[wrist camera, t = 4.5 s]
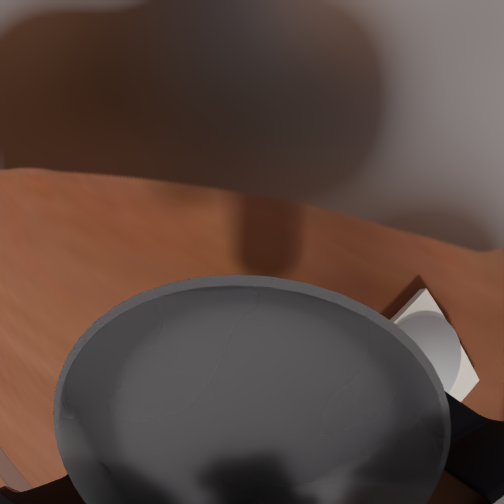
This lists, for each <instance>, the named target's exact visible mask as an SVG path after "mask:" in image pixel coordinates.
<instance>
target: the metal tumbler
mask: <svg viewBox="0 0 504 504" xmlns="http://www.w3.org/2000/svg"><path fill="white" fill-rule="evenodd" d="M53 415H54V429H55V435H56V440H57V445H58V449H59V452H60V455H61V458H62V461H63V464H64V466H65V469H66V471H67V473H68V475H69V477H70V479H71V481H72V483H73V485H74V486H75V488H76V489H77V491H78V493H79V494H80V496H81V497H82V499H83V500H84V501H85V503H86V504H426V503H427V502H428V500H429V498H430V497H431V495H432V493H433V492H434V490H435V488H436V486H437V484H438V482H439V480H440V477H441V475H442V473H443V470H444V468H445V464H446V460H447V456H448V452H449V447H450V436H451V421H450V411H449V404H448V401H447V397H446V394H445V390H444V387H443V384H442V382H441V380H440V378H439V376H438V374H437V372H436V370H435V368H434V366H433V365H432V363H431V362H430V360H429V359H428V358H427V356H426V355H425V354H424V352H423V351H422V350H421V349H420V347H419V346H418V345H417V343H416V342H415V341H413V340H412V339H411V338H410V337H409V336H408V335H407V334H406V333H405V332H404V331H403V330H402V329H400V328H399V327H398V326H397V325H396V324H395V323H393V322H392V321H390V320H389V319H387V318H386V317H384V316H383V315H381V314H380V313H378V312H376V311H375V310H373V309H372V308H370V307H368V306H366V305H364V304H362V303H360V302H358V301H355V300H353V299H351V298H349V297H347V296H345V295H343V294H341V293H337V292H334V291H331V290H328V289H325V288H321V287H318V286H315V285H312V284H309V283H305V282H299V281H293V280H288V279H282V278H277V277H271V276H252V275H222V276H207V277H198V278H193V279H188V280H183V281H178V282H173V283H168V284H165V285H162V286H159V287H157V288H154V289H151V290H148V291H145V292H142V293H139V294H138V295H136V296H134V297H132V298H130V299H128V300H126V301H124V302H122V303H121V304H119V305H117V306H115V307H114V308H112V309H111V310H110V311H108V312H107V313H106V314H104V315H103V316H102V317H100V318H99V319H98V320H96V321H95V322H94V323H93V324H92V325H91V326H90V327H89V328H88V330H87V331H86V332H85V333H84V334H83V335H82V336H81V337H80V338H79V340H78V341H77V343H76V344H75V346H74V347H73V349H72V350H71V352H70V353H69V355H68V356H67V359H66V361H65V363H64V365H63V368H62V370H61V373H60V375H59V379H58V383H57V387H56V391H55V398H54V411H53Z"/></svg>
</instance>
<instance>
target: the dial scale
mask: <svg viewBox="0 0 504 504" xmlns="http://www.w3.org/2000/svg"><path fill="white" fill-rule="evenodd" d="M390 321H392V322H393V323H395V324H396V325H397V326H398V327H399V328H400V329H402V330H403V331H404V332H405V333H406V334H407V335H408V336H409V337H410V338H411V339H412V340H413V341H415V342H416V343H417V345H418V346H419V347H420V349H421V350H422V351H423V352H424V354H425V355H426V356H427V358H428V359H429V360H430V362H431V363H432V365H433V366H434V368H435V370H436V372H437V374H438V376H439V378H440V380H441V382H442V384H443V387H444V390H445V391H446V392H447V393H448V394H450V395H451V396H453V397H454V398H455V399H457V400H458V401H460V402H461V401H462V400H463V399H464V398H465V397H466V396H467V394H468V393H469V392H470V391H471V390H472V388H473V387H474V386H475V385H476V384H477V382H478V381H479V379H478V377H477V375H476V373H475V371H474V369H473V367H472V365H471V363H470V361H469V359H468V357H467V355H466V353H465V352H464V350H463V348H462V346H461V344H460V341H459V338H458V336H457V334H456V331H455V330H454V329H453V327H452V326H451V325H450V324H449V323H448V322H447V320H446V318H445V317H444V315H443V314H442V312H441V310H440V309H439V307H438V306H437V304H436V302H435V301H434V299H433V298H432V296H431V295H430V293H429V292H428V290H427V289H420V290H419V291H418V292H417V293H416V294H415V295H414V296H413V297H412V298H411V299H410V300H409V301H408V302H407V303H406V304H405V305H404V306H403V307H402V308H401V309H400V310H399V311H398V312H397V313H396V314H395V315H394V316H393V317H392V318H391V319H390Z"/></svg>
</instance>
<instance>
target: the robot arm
mask: <svg viewBox="0 0 504 504" xmlns="http://www.w3.org/2000/svg"><path fill="white" fill-rule="evenodd" d="M445 394H446V397H447V401H448V404H449V411H450V421H451V436H450V447H449V452H448V456H447V460H446V464H445V468H444V470H443V473H442V475H441V477H440V480H439V482H438V484H437V486H436V488H435V490H434V492H433V493H432V495H431V497H430V498H429V500H428V502H427V503H426V504H504V421H497V420H491V419H488V418H485V417H483V416H481V415H479V414H477V413H476V412H474V411H473V410H471V409H470V408H468V407H467V406H466V405H464V404H463V403H461V402H460V401H458V400H457V399H455V398H454V397H453V396H451V395H450V394H448V393H447V392H446V391H445ZM0 504H86V503H85V501H84V500H83V499H82V497H81V496H80V494H79V493H78V491H77V489H76V488H75V486H74V485H73V483H72V481H71V479H70V477H69V475H68V474H67V475H66V476H64V477H63V478H60V479H58V480H55V481H53V482H50V483H47V484H45V485H42V486H39V487H36V488H33V489H30V490H27V491H24V492H19V491H17V490H14V489H12V488H10V487H7V486H3V487H1V488H0Z"/></svg>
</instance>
